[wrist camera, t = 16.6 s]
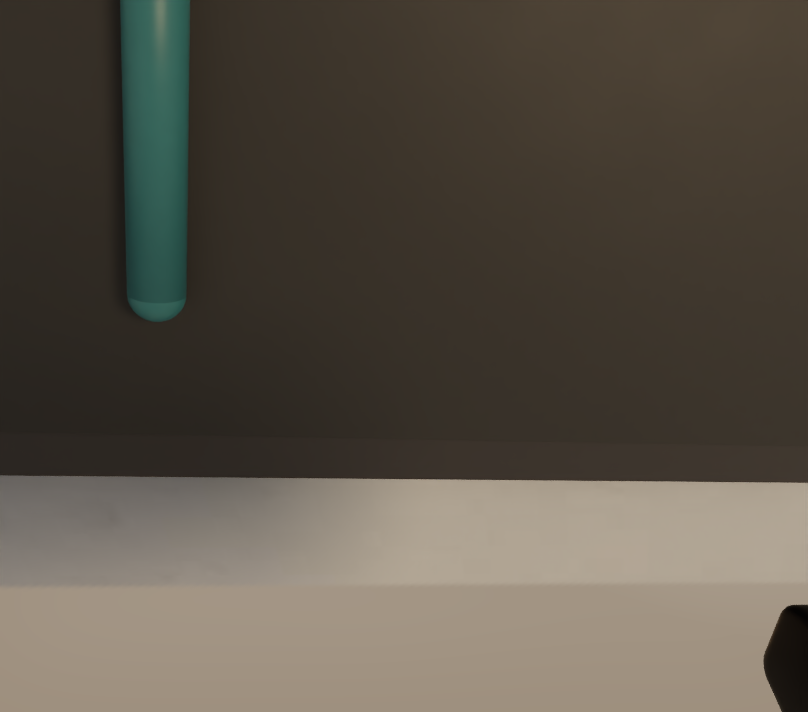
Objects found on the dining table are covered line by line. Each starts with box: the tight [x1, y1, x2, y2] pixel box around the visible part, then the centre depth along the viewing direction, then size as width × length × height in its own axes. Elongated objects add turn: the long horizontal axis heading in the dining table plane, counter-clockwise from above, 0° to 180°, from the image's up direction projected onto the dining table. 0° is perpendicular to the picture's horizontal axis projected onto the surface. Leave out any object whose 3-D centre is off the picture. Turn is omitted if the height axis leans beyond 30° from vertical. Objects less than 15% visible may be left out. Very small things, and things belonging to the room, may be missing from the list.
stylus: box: [120, 0, 190, 322], centre depth 15 cm, size 1×1×13 cm
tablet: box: [0, 0, 808, 483], centre depth 18 cm, size 28×20×1 cm
